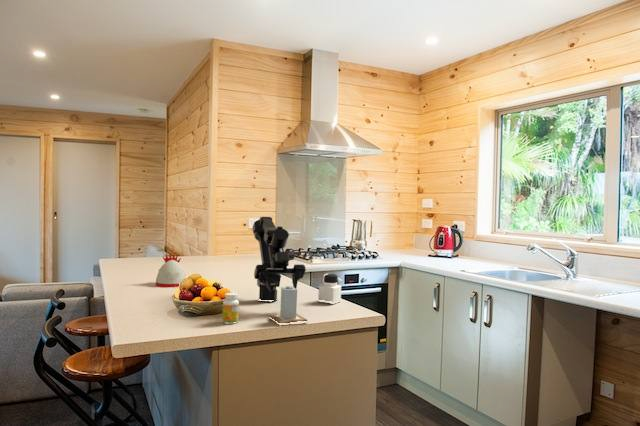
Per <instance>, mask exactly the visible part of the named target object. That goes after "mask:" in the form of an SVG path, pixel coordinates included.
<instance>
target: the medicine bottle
mask: <svg viewBox="0 0 640 426" xmlns="http://www.w3.org/2000/svg"><path fill="white" fill-rule="evenodd" d="M322 278H323V279H322V281H323V282H322V284H321V285H318V297H317V298H318V299H319V300H325V301H332V302H334V301H338V300H341V301H342V299H341V298H342V285H339V284H338V280H339V279H338V278H339V276H338V275H337V274H335V273H325V274H324V275H323V277H322Z"/></svg>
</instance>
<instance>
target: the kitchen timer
mask: <svg viewBox="0 0 640 426" xmlns="http://www.w3.org/2000/svg"><path fill="white" fill-rule="evenodd" d="M162 258H163V261H164V263H162V265H161V267H160V268H159V269H158V273H157V275H156V279H155V286H156V287H160V288H179V287H178V286H179V283H180V282H181V281H182V280H183V279H184V278H186V279H187V277H186V272H185V270H184V268H183V266H182V265H181V264H180V262H181V257H179V259H178V255H176V256H175V253H173V254H172V253H169V256H168V253H165V257H164V256H162Z"/></svg>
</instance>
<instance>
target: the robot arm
mask: <svg viewBox="0 0 640 426" xmlns="http://www.w3.org/2000/svg"><path fill="white" fill-rule="evenodd" d="M252 233H253V236H254V239H256V240H257V241H258V245H259V251H260V258H261V264H256V265H255V269H254V272H253V277H254V279H255V280H256V285H257V287H258V288H259V295H258V298H259V299H261V300H276V299H277V300H278V289H277V287H278V288H280V283H281V278H282V275H291V277H292V279H291V281H292V287H294V288H296V289H297V288H298V281H300V280H301V279H303V277H304V275H305V272H306V270H307V269H306V265H304V264H294V265H293V267H290V268H288V267H289V264H290V263H289V262H290V261H293V260H295V252H294V250H288V251H285V249H284V248H286V245H287V242H288V239H289V236H290V234H289V232H288V230H286V229H284V228H283V226H277V227H276V225H275V223H274V222H273V218H272V217H271V216H261V217H260V218H259V219H258V220H256V221H254V222H253V225H252ZM259 299H258V300H259ZM277 300H276V301H277Z"/></svg>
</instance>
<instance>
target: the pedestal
mask: <svg viewBox="0 0 640 426" xmlns="http://www.w3.org/2000/svg"><path fill="white" fill-rule="evenodd" d="M268 317H271V318H272V319H274V320H275V321H277V322H278V323H290V322H297V321H307V322H308V319H307V318H305V317H303V316H302V315H300V314H298V313H296V318H295V319H283V318H282V317H281V316H280V313H277V314H275V313H274V314H269V316H268Z"/></svg>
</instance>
